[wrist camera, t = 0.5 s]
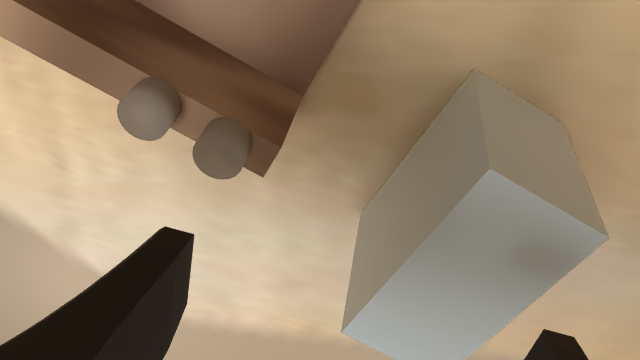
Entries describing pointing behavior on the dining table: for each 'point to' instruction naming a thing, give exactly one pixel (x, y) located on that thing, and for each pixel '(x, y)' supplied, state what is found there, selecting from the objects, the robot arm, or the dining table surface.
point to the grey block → (469, 228)
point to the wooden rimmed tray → (190, 65)
